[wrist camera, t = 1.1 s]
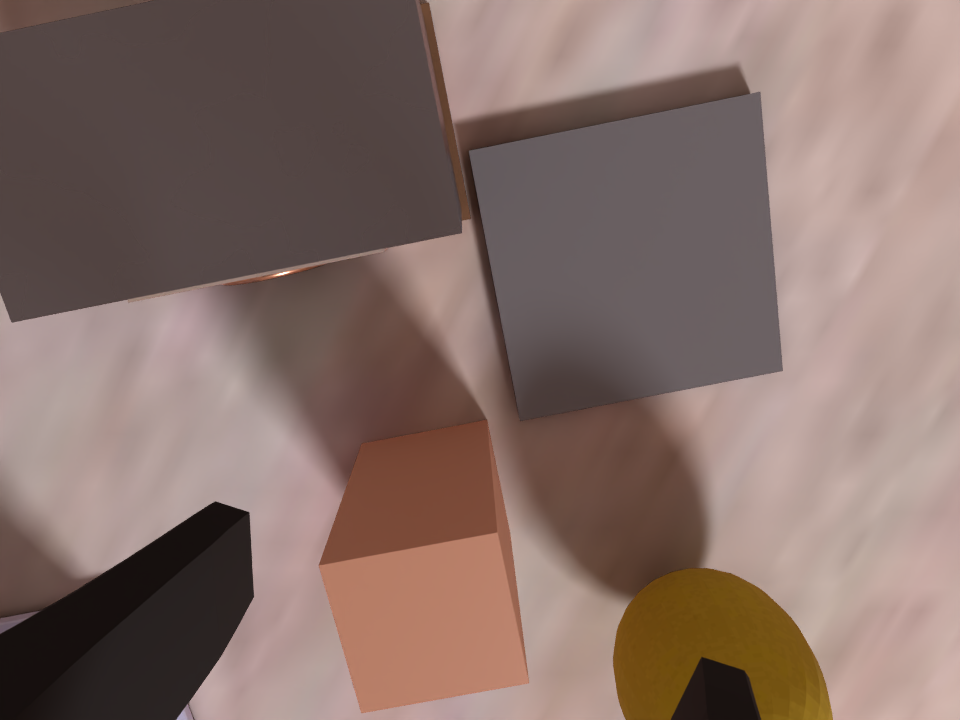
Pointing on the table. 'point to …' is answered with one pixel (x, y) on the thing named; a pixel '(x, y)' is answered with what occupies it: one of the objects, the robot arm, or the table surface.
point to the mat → (632, 256)
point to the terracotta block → (425, 571)
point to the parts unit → (217, 146)
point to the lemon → (713, 647)
